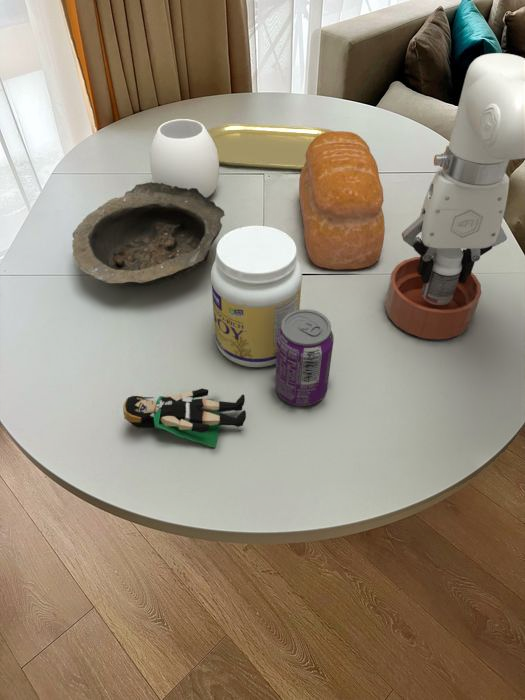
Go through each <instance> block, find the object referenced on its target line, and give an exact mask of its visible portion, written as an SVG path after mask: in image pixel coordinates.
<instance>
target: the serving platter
mask: <svg viewBox="0 0 525 700" xmlns="http://www.w3.org/2000/svg"><path fill="white" fill-rule="evenodd" d="M206 130H207V132H208V133H209V135H210V136H211V138H212V140H213V142H214V144H215V146H216V148H217V153H218V159H219V165H224V166H233V167H248V168H263V169H265V168H267V169H280V170H281V169H282V170H284V169H285V170H299V171H302V169H303V166H304V164H305V163H306V157H305V155H306V151H307V149H308V147H309V145H310V143H311V142H312V141H313V140H314V139H315V138H316V137H318V136H319V135H321V134H323V133H325V132H334V131H335V130H331V129H328V128H323V127H313V126H297V125H296V126H293V125H274V124H256V123H227V124H221V125H218V126H214V127H211V128H208V129H206Z"/></svg>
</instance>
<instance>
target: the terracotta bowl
mask: <svg viewBox="0 0 525 700" xmlns="http://www.w3.org/2000/svg"><path fill="white" fill-rule="evenodd" d="M419 260H420V256H414V257H411V258H407V259H405V260H403V261H401V262H400V263H398V264H397V265H396V266H395V267H394V268H393V270H392V271H391V273H390V279H389V283H388V287H387V291H386V292H387V293H386V297H385V304H384V308H385V311H386V314H387V316H388V318H389V319H390V320H391V321H392V322H393V324H394V325H395V326H396V327H398V328H399V329H401V330H403V332H406V333H408V334H411V335H413V336H416V337H418V338H422V339H428V340H433V341H434V340H446V339H451V338H454V337H457V336H459V335H461V334H462V333H464V332H465V331H466V330H467V329H468V328H469V327H470V324H471V322H472V321H473V317H474V315H475V312H476V309H477V307H478V305H479V302H480V299H481V296H482V284H481V282H480V281H479V279H478V278H477V275H476V274H475V273H473V271H472V272H471V275H468V277H467V280H466V283H465V284H461V283H460V281H459V280H458V283H457V286H456V289H455V293H454V296H453V299H452V301H451V302H450V303H448V304H445V305H434V304H431V303H429V302H427V301H426V300H425V299H424V298H423V296H422V288H423V284H424V283H423V281H422V278H421V275H418V272H417V268H418V264H419Z"/></svg>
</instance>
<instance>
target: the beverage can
mask: <svg viewBox="0 0 525 700" xmlns="http://www.w3.org/2000/svg"><path fill="white" fill-rule="evenodd" d="M334 339H335V338H334V333H333V330H332V324H331V321H330V320H329V318H328V317H327V316H326V315H324V314H323V313H321V312H319V311H316V310H313V309H307V308H306V309H305V308H304V309H302V308H301V309H299V310H296V311H293V312H291V313H289V314H287V315H286V316H285V317H284V319H283V320H282V323H281V327H280V328H279V330H278V333H277V352H276V363H275V381H274V382H275V385H274V386H275V391H276V392H277V395H278V396H279V397H280V398H281V399H282V400H283V401H285V402H286V403H289V404H290V405H294V406H299V407H305V406H311V405H312V406H313V405H315V404H316V403H319V402H320V401H321V400H322V399H323V398H324V397H325V396H326V394H327V393H328V384H329V379H330V378H329V377H330V370H331V362H332V356H333V350H334V349H333V348H334Z"/></svg>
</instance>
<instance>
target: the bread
mask: <svg viewBox="0 0 525 700" xmlns="http://www.w3.org/2000/svg"><path fill="white" fill-rule="evenodd" d="M333 131H334V132H325V133H323V134H321V135H319V136H318V137H316V138H315V139H314V140H313V141H312V142H311V143H310V145H309V147H308V149H307V151H306V155H305V157H306V163H305V164H304V166H303V169H302V170H300V174H299V178H298V198H299V205H300V210H301V218H302V223H303V226H304V232H303V233H304V234H303V235H304V243H305V249H306V252H307V254H308V257H309V259H310V262H312V263H313V264H314V265H316V266H317V267H320V268H324V269H329V270H358V269H363V268H368V267H370V266H373V265H374V264H375V263H376V262H378V260H379V259H380V258H381V256H382V251H383V246H384V241H385V234H386V233H385V232H386V227H385V216H384V212H383V204H384V190H383V189H384V188H383V185H382V182H381V179H380V173H379V167H378V164H377V160H376V159H375V157H374V155H373V154H372V153H371V150H370V146H369V145H368V144H367V142H366V141H365V140H364V139H363V138H362V136H360V135H359V134H357V133H355V132H352V131H346V130H345V131H344V130H339V131H338V130H337V131H335V130H333Z"/></svg>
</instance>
